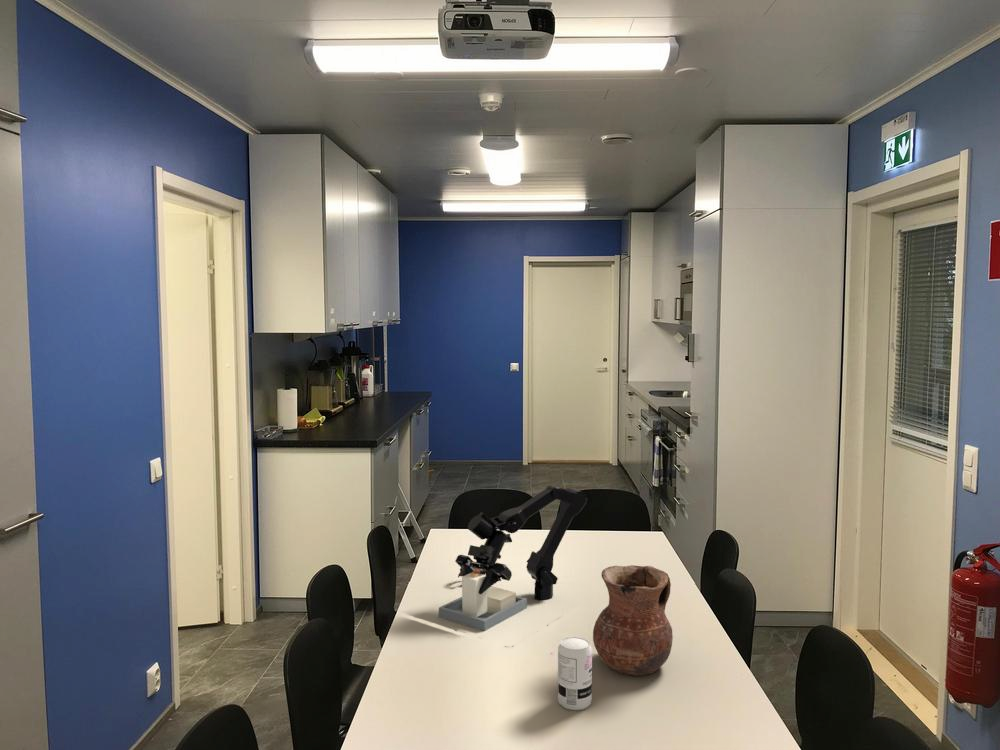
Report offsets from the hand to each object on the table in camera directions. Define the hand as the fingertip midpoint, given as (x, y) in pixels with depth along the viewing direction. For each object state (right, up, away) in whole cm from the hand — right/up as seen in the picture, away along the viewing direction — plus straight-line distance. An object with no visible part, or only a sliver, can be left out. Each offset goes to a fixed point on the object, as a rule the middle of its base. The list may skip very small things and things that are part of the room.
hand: (471, 591), depth 230 cm
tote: (+3, -9, +5) cm, 11 cm away
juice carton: (+1, -7, +2) cm, 7 cm away
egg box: (+6, -8, +9) cm, 14 cm away
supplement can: (+27, -13, -49) cm, 57 cm away
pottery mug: (0, -7, +32) cm, 33 cm away
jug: (+45, -11, -28) cm, 54 cm away
